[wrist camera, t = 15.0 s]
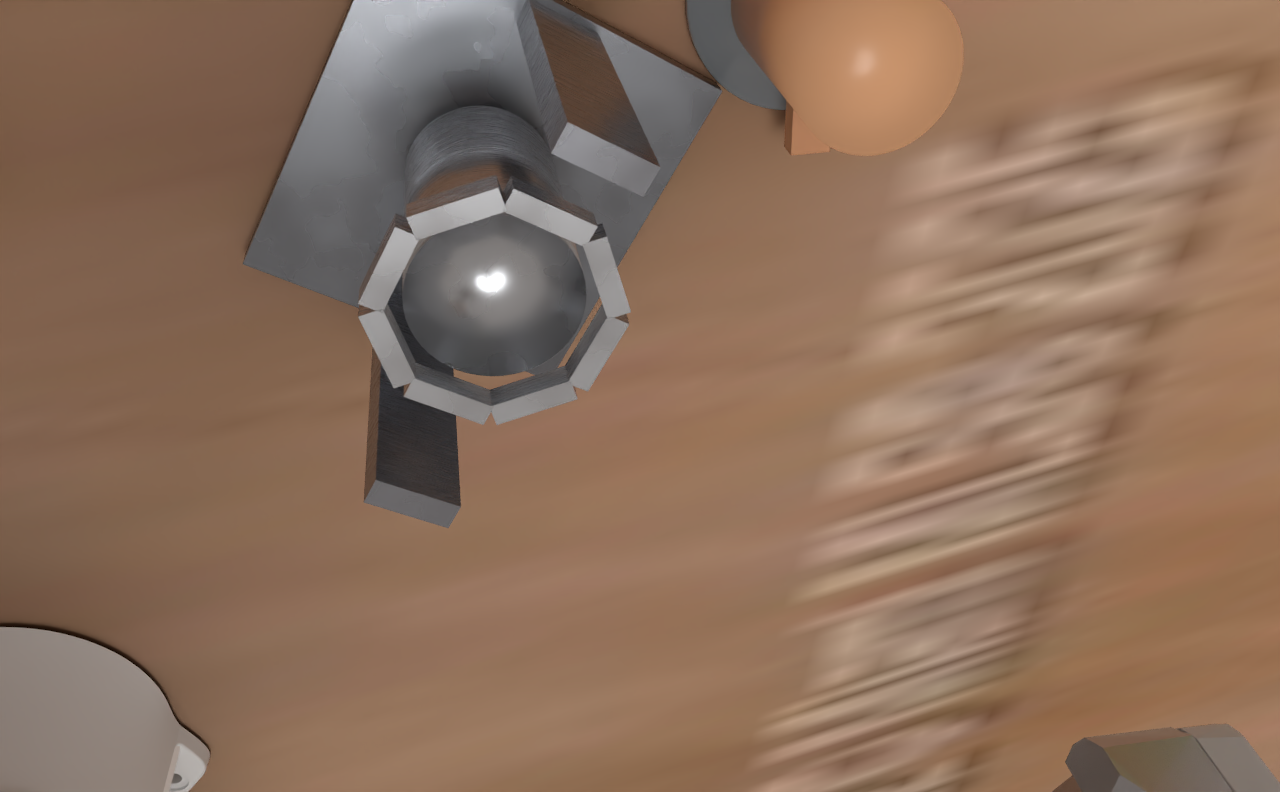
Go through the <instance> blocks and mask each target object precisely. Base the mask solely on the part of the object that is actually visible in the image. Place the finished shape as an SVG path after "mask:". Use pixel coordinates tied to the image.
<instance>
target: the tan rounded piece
mask: <svg viewBox="0 0 1280 792" xmlns="http://www.w3.org/2000/svg"><path fill="white" fill-rule="evenodd" d="M731 16H732V22H733V26H734V29H735V32H736V34H737V36H738V39H739V41H740V42H741V44H742V45H743V47H744V48H745V49H746V51H747V52H748V53H749V54H750V56H751V57H752V58H753V59H754V61H755V62H756V63H757V64H758V66H759V67H760V68H761V69H762V71H763V72H764V73H765V74H766V76H767V77H768V78H769V79H770V80H771V82H772V83H773V84H774V85H775V87H776V88H777V89H778V90H779V92H780V93H781V94H782V95H783V97H784V98H785V99H786V119H785V141H784V146H785V148H786V149H787V151H788V152H789V153H790V155H801V154H811V153H822V152H830V147H831V148H833V149H835V150H837V151H840V152H842V153H846V154H850V155H858V156H874V155H880V154H885V153H888V152H892V151H895V150H897V149H899V148H902V147H904V146H906V145H908V144H910V143H911V142H913V141H915V140H916V139H918V138H919V137H920V136H922V135H923V134H924V133H925V132H927V131H928V130H929V129H930V128H931V127H932V126H933V125H934V124H935V123H936V122H937V121H938V120H939V119H940V117H941V116H942V114H943V113H944V112H945V110H946V109H947V107H948V106H949V104H950V102H951V101H952V99H953V97H954V95H955V92H956V90H957V88H958V85H959V81H960V78H961V74H962V69H963V60H964V49H963V40H962V35H961V32H960V29H959V26H958V23H957V21H956V19H955V17H954V15H953V14H952V12H951V11H950V10H949V8H948V7H947V6H946V5H945V4H944V3H943V2H942V1H941V0H731Z"/></svg>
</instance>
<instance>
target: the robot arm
mask: <svg viewBox="0 0 1280 792" xmlns="http://www.w3.org/2000/svg"><path fill="white" fill-rule="evenodd" d="M209 759H210V752H209V750H208V748H207V747H206V746H205V745H204V744H203V743H202V742H201V741H200V740H199V739H198V738H196V737H195V736H194V735H193V734H191V733H190V732H189V731H187V730H186V729H185V728H183V727H182V726H180V724H179V723H178V722H177V720H176V719H175V717H174V715H173V713H172V711H171V709H170V706H169V704H168V702H167V700H166V698H165V697H164V695H163V693H162V692H161V690H160V689H159V688H158V686H157V685H156V684H155V683H154V682H153V680H152V679H151V678H150V677H149V676H148V675H147V674H145V673H144V672H143V671H142V670H141V669H140V668H138V667H137V666H136V665H134V664H133V663H131V662H130V661H128V660H127V659H125V658H124V657H122V656H120V655H118V654H117V653H115V652H113V651H111V650H109V649H107V648H105V647H102V646H100V645H97V644H95V643H92V642H90V641H87V640H84V639H81V638H77V637H74V636H70V635H66V634H62V633H57V632H53V631H47V630H40V629H31V628H18V627H0V792H188V791H189V790H190V789H191V788H192V787H193V786H194V785H195V784H196V783H197V781H198V780H199V779H200V778H201V777H202V776H203V775H204V773H205V771H206V768H207V765H208V762H209ZM1065 763H1066V764H1067V766H1068V768H1069V770H1070V771H1071V773H1072V776H1071V777H1070V778H1069V779H1067V780H1066V781H1065V782H1064V783H1062V784H1061V785H1060V786H1059V787H1057V788H1056V789H1055V790H1054V791H1052V792H1280V783H1279V782H1278V780H1277V779H1276V778H1275V776H1274V775H1273V774H1272V773H1271V771H1270V770H1269V769H1268V767H1267V766H1266V765H1265V763H1264V762H1263V761H1262V759H1261V758H1260V757H1259V756H1258V754H1257V753H1256V752H1255V750H1254V749H1253V748H1252V746H1251V745H1250V744H1249V742H1248V741H1247V740H1246V739H1245V737H1244V736H1243V735H1242V734H1241V733H1240V732H1239V731H1237V730H1236V729H1234V728H1233V727H1231V726H1230V725H1228V724H1208V725H1200V726H1192V727H1184V728H1176V729H1174V728H1171V727H1169V728H1161V729H1152V730H1144V731H1136V732H1127V733H1119V734H1110V735H1102V736H1094V737H1085V738H1083V739H1081V740H1080V741H1078V742H1077V743H1075V744H1074V745H1073V746H1072V748H1071V750H1070V753H1069V755H1068V757H1067V759H1066V761H1065Z"/></svg>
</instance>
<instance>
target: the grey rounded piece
mask: <svg viewBox="0 0 1280 792" xmlns="http://www.w3.org/2000/svg"><path fill="white" fill-rule="evenodd" d="M685 11H686V19H687V25H688V30H689V33H690V36H691V39H692V43H693V45H694V47H695V49H696V51H697V53H698V56H699V57H700V59H701V60H702V62H703V63H704V65H705V66H706V68H707V69H708V71H709V72H710V73H711V75H712V76H713V77H714V78H715V79H716V80H717V81H718V83H720V84H721V85H722V86H723V87H724V88H725V89H727V90H728V91H729V92H730V93H732V94H734V95H735V96H737V97H738V98H740V99H742V100H744V101H746V102H749V103H751V104H753V105H757V106H760V107H764V108H769V109H776V110H786V99H785V98H784V97H783V95H782V94H781V93H780V92H779V90H778V89H777V88H776V87H775V85H774V84H773V83H772V82H771V80H770V79H769V78H768V77H767V76H766V74H765V73H764V72H763V71H762V69H761V68H760V67H759V66H758V64H757V63H756V62H755V61H754V59H753V58H752V57H751V56H750V54H749V53H748V52H747V51H746V49H745V48H744V47H743V45H742V44H741V42H740V41H739V39H738V36H737V34H736V32H735V29H734V26H733V22H732V16H731V0H685Z"/></svg>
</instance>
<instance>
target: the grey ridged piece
mask: <svg viewBox="0 0 1280 792" xmlns="http://www.w3.org/2000/svg"><path fill="white" fill-rule="evenodd" d="M721 92H722V90H721V89H720V87H719V86H718V84H717V83H716V82H714V81H712V80H710V79H708V78H706V77H705V76H703V75H701V74H699V73H697V72H695V71H693V70H691V69H690V68H688V67H686V66H684V65H682V64H680V63H678V62H677V61H675V60H673V59H671V58H669V57H667V56H665V55H664V54H662V53H660V52H658V51H656V50H654V49H652V48H650V47H649V46H647V45H645V44H643V43H641V42H639V41H637V40H636V39H634V38H632V37H630V36H628V35H626V34H624V33H623V32H621V31H619V30H617V29H615V28H613V27H611V26H609V25H608V24H606V23H604V22H602V21H600V20H598V19H596V18H595V17H593V16H591V15H589V14H587V13H585V12H583V11H582V10H580V9H578V8H576V7H574V6H572V5H570V4H568V3H567V2H565V1H563V0H352V1H351V4H350V6H349V9H348V11H347V13H346V16H345V18H344V20H343V23H342V25H341V28H340V30H339V32H338V35H337V37H336V39H335V42H334V44H333V47H332V49H331V51H330V54H329V56H328V59H327V61H326V63H325V66H324V68H323V70H322V73H321V75H320V78H319V80H318V82H317V85H316V87H315V89H314V92H313V94H312V97H311V99H310V101H309V104H308V106H307V109H306V111H305V113H304V116H303V118H302V120H301V123H300V125H299V128H298V130H297V132H296V135H295V137H294V139H293V142H292V144H291V147H290V149H289V151H288V154H287V156H286V159H285V161H284V163H283V166H282V168H281V170H280V173H279V175H278V178H277V180H276V182H275V185H274V187H273V189H272V192H271V194H270V197H269V199H268V201H267V204H266V206H265V208H264V211H263V213H262V216H261V218H260V220H259V223H258V225H257V228H256V230H255V232H254V235H253V237H252V239H251V242H250V244H249V247H248V249H247V251H246V254H245V258H244V262H243V264H244V265H247V266H249V267H252V268H255V269H257V270H260V271H262V272H265V273H268V274H270V275H273V276H276V277H278V278H281V279H284V280H286V281H289V282H291V283H294V284H297V285H299V286H302V287H305V288H307V289H310V290H313V291H315V292H318V293H320V294H323V295H326V296H328V297H331V298H334V299H336V300H339V301H342V302H344V303H347V304H349V305H352V306H355V307H357V308H359V312H358V317H359V319H360V321H361V323H362V325H363V327H364V329H365V332H366V334H367V336H368V338H369V340H370V342H371V344H372V346H373V349H372V367H371V384H370V402H369V419H368V437H367V454H366V472H365V489H364V502H365V503H368V504H371V505H374V506H378V507H381V508H384V509H387V510H391V511H394V512H397V513H400V514H404V515H407V516H410V517H414V518H417V519H420V520H423V521H427V522H430V523H433V524H436V525H440V526H443V527H446V528H449V526H450V524H451V523H452V521H453V519H454V517H455V516H456V514H457V512H458V511H459V509H460V507H461V502H460V484H459V466H458V448H457V429H456V415H457V416H460V417H463V418H465V419H468V420H471V421H474V422H477V423H480V424H482V425H484V423H485V421H486V420H487V418H488V416H489V414H490V413H492V415H493V417H494V419H495V422H496V424H497V425H498V424H501V423H505V422H508V421H511V420H514V419H517V418H520V417H523V416H526V415H530V414H533V413H536V412H539V411H542V410H545V409H548V408H551V407H554V406H558V405H561V404H564V403H567V402H570V401H573V400H576V399H577V394H576V390H575V387H578V388H580V389H583V390H586V391H588V390H589V389H590V387H591V385H592V384H593V382H594V381H595V379H596V377H597V376H598V374H599V373H600V371H601V369H602V368H603V366H604V364H605V363H606V361H607V360H608V358H609V356H610V355H611V353H612V351H613V350H614V348H615V347H616V345H617V343H618V342H619V340H620V339H621V337H622V335H623V334H624V332H625V330H626V329H627V327H628V326H629V322H628V318H627V315H626V314H627V313H630V312H631V310H630V307H629V304H628V301H627V298H626V295H625V292H624V289H623V285H622V282H621V279H620V276H619V273H618V270H617V267H618V265H619V263H620V262H621V260H622V258H623V257H624V255H625V253H626V252H627V250H628V248H629V247H630V245H631V243H632V242H633V240H634V238H635V237H636V235H637V233H638V232H639V230H640V228H641V227H642V225H643V223H644V222H645V220H646V218H647V216H648V215H649V213H650V211H651V210H652V208H653V206H654V205H655V203H656V201H657V200H658V198H659V196H660V195H661V193H662V191H663V190H664V188H665V186H666V185H667V183H668V181H669V180H670V178H671V176H672V175H673V173H674V171H675V170H676V168H677V166H678V164H679V163H680V161H681V159H682V158H683V156H684V154H685V153H686V151H687V149H688V148H689V146H690V144H691V143H692V141H693V139H694V138H695V136H696V134H697V133H698V131H699V129H700V128H701V126H702V124H703V123H704V121H705V119H706V118H707V116H708V114H709V113H710V111H711V109H712V107H713V106H714V104H715V102H716V101H717V99H718V97H719V96H720V94H721ZM599 297H600V298H601V301H602V305H601V307H600V308H599V310H598V312H597V313H596V315H595V317H594V318H593V320H592V322H591V323H590V325H589V327H588V328H587V330H586V332H585V333H584V335H583V337H582V338H581V340H580V342H579V343H578V345H577V347H576V348H575V350H574V352H573V353H572V355H571V357H570V358H569V360H568V362H567V363H566V365H565V366H563V367H560V368H557V367H558V366H559V364H560V362H561V361H562V359H563V357H564V356H565V354H566V352H567V351H568V349H569V347H570V346H571V344H572V342H573V341H574V339H575V337H576V336H577V334H578V332H579V331H580V329H581V327H582V325H583V324H584V322H585V320H586V319H587V317H588V315H589V314H590V312H591V310H592V309H593V307H594V305H595V304H596V302H597V300H598V299H599ZM453 368H454V369H456V370H459V371H463V372H466V373H470V374H475V375H483V376H503V375H510V374H515V373H519V372H523V371H526V372H529V373H531V374H534V375H535V376H532V377H529V378H525V379H522V380H519V381H516V382H513V383H510V384H507V385H504V386H501V387H497V388H494V389H491V390H488V389H486V388H483V387H480V386H478V385H475V384H472V383H469V382H467V381H464V380H461V379H458V378H456V377H454V374H453Z"/></svg>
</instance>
